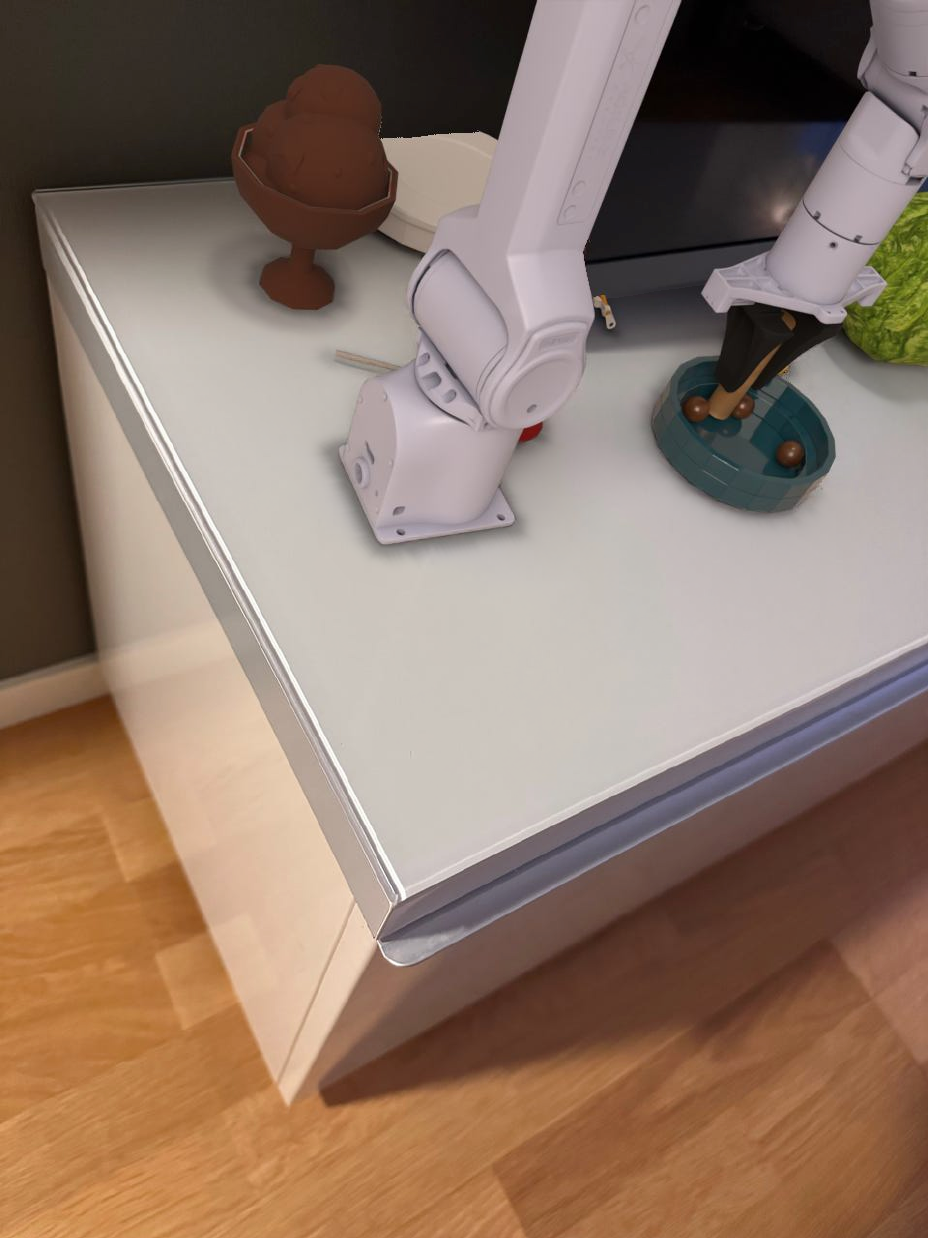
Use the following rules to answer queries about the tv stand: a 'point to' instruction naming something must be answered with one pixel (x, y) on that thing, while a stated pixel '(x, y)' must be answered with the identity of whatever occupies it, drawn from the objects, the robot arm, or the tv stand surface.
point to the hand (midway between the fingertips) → (736, 382)
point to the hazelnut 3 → (789, 453)
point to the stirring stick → (727, 402)
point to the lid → (434, 181)
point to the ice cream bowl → (315, 177)
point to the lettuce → (897, 293)
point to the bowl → (744, 441)
